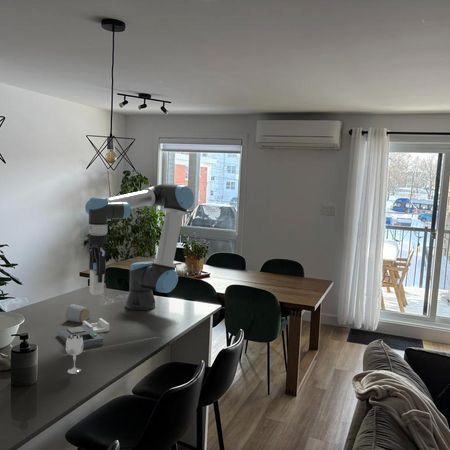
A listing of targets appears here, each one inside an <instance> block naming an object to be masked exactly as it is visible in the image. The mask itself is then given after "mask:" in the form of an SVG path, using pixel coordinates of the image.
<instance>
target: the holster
mask: <svg viewBox="0 0 450 450" xmlns="http://www.w3.org/2000/svg"><path fill="white" fill-rule="evenodd" d="M85 325H87V326H88V327H89V328H91V329H92V330H93V331H95V332H96V333H97V334H98V333H104V332H109V331H110V323H109V322H107V320H105V319H103V318H102V317H99V318H98V322H92V323H90V322H88V320H87V321H83V323H82V326H85Z"/></svg>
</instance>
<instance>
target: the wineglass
mask: <svg viewBox="0 0 450 450" xmlns="http://www.w3.org/2000/svg"><path fill="white" fill-rule="evenodd" d="M83 347H84V344H83V338H82V336H81V335H70V336H68V338H67V341H66V343H65V351H66V353H67V354H68V355H69V356H72V361H73V367H72V368H69V369H67V373H68V374H70V375H71V374H72V375H73V374H74V375H75V374H79V373H81V372H82V369H81V368H78V367H76V360H77V356H78V355H80V354H82V352H83V351H84V348H83Z"/></svg>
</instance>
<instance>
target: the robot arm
mask: <svg viewBox="0 0 450 450" xmlns="http://www.w3.org/2000/svg"><path fill="white" fill-rule="evenodd" d="M194 199H195V195H194V193H193V190H192V188H191V187H189V186H188V185H183V184H175V183H174V184H173V183H171V184H170V183H169V184H168V183H161V184H158V185H153V186H148V187H145V188H143V189H142V190H139V191H133V192H129V193H126V194H119V195H115V196H109V197H104V196H103V197H96V196H95V197H94V196H93V197H90V199H89V200H87V202H85V206H84V207H85V212H86V213H87V215H88V226H87V229H88V233H89V234H88V238H87V239H88V244H90V245H91V246H89V247H88V249H89V250H88V251H89V255H88V256H89V262H88V264H89V266H88V267H89V271H90V270H93V263H96V266H97V274H95V275H96V290H103V274H104V275H106V260H107V258H106V257H107V251H106V250H104V245H106V244H107V243H108V235H107V234H108V220H123V219H127V218H129V217H130V216H131V212H132V209H136V208H140V207H145V206H147V207H153V206H154V207H156V206H158V207H163V210H164V212H165V216H164V221H163V226H162V230H161V235H160V240H159V243H158V244H159V245H158V249H157V253H156V254H157V255H156V259H155V260H154V261H137V262H132V264H130V267H129V269H130V270H129V290H128V291H129V292H128V295H127V298H126V301H125V308H127V309H129V310H133V311H148V310H152V309H154V308H156V300H155V296H154V294H153V293H154V292H153V291H155V292H158V293H165V294H167V293H170V292H172V291H173V290H174V289H175V288H176V286H177V284H178V281H179V275H178V272H177V271H176V265H175V264H174V261H175V256H176V251H177V246H178V241H179V236H180V231H181V227H182V221H183V217H184V216H185V215H186V214H187V212H188V210H189V209H191V208H192V207H193V205H194Z"/></svg>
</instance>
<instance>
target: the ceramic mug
mask: <svg viewBox="0 0 450 450" xmlns="http://www.w3.org/2000/svg"><path fill="white" fill-rule="evenodd" d="M90 317H91V315H90V311H89V309H88V308H87V307H86V306H82V305H78V304H74V303H72V304H70V305H68V307H67V308H66V310H65V319H66V321H69V322H73V323H80V324H83V321H87V322H88V320H89V319H90Z"/></svg>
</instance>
